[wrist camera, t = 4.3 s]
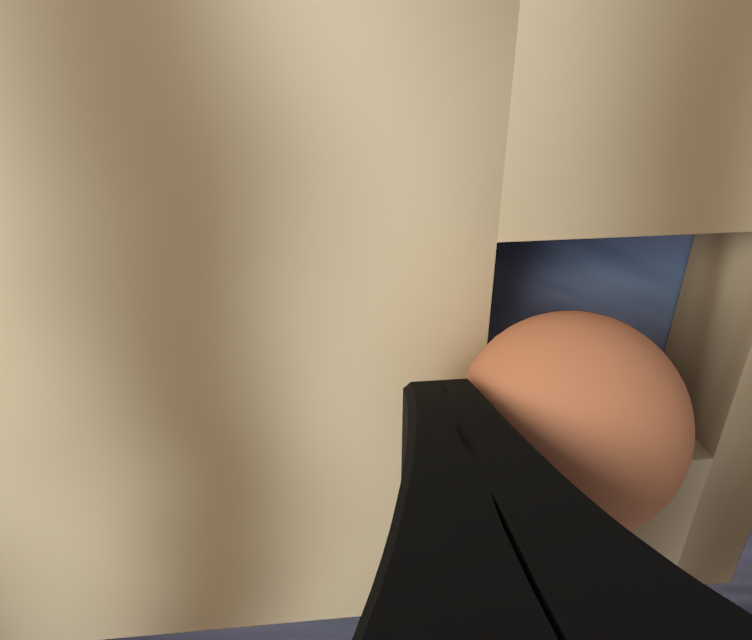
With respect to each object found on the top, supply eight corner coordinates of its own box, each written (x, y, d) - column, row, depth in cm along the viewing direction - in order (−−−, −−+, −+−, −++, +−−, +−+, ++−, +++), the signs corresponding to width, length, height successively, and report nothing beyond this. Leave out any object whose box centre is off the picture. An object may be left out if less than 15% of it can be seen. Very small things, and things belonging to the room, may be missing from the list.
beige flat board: (-15, 559, 16) (-66, 655, 14) (-283, -42, 9) (-458, -42, 7) (676, 504, 17) (729, 582, 15) (848, -45, 11) (983, -47, 9)
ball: (592, 642, 9) (703, 508, 11) (644, 439, 7) (765, 327, 9) (407, 501, 11) (528, 414, 13) (412, 322, 9) (551, 255, 12)
